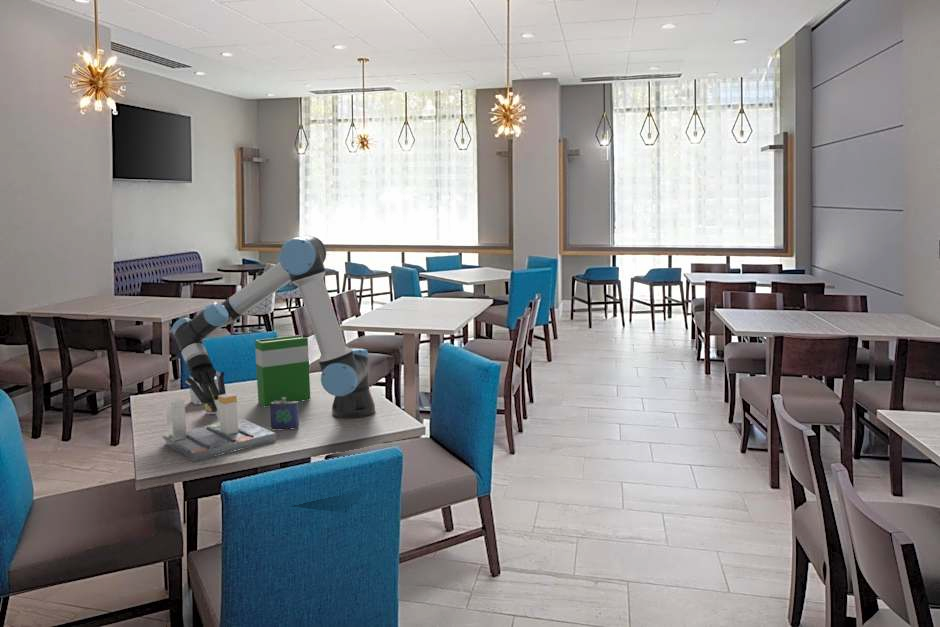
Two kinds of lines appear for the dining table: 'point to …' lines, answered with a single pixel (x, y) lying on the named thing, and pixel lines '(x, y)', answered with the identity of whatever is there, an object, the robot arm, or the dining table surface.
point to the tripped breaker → (228, 413)
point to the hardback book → (282, 369)
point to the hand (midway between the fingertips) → (222, 418)
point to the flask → (284, 414)
